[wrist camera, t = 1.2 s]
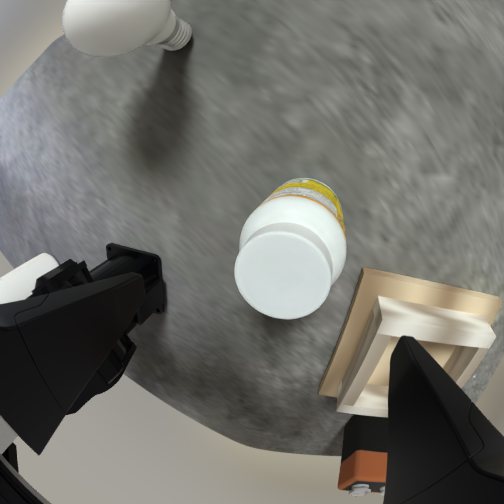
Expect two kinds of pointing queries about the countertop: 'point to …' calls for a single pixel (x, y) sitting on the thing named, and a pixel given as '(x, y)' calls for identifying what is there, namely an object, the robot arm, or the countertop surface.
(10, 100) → the countertop surface
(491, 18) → the countertop surface
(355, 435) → the battery
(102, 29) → the lightbulb
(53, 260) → the can
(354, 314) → the base
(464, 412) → the robot arm
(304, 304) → the supplement bottle
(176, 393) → the countertop surface
